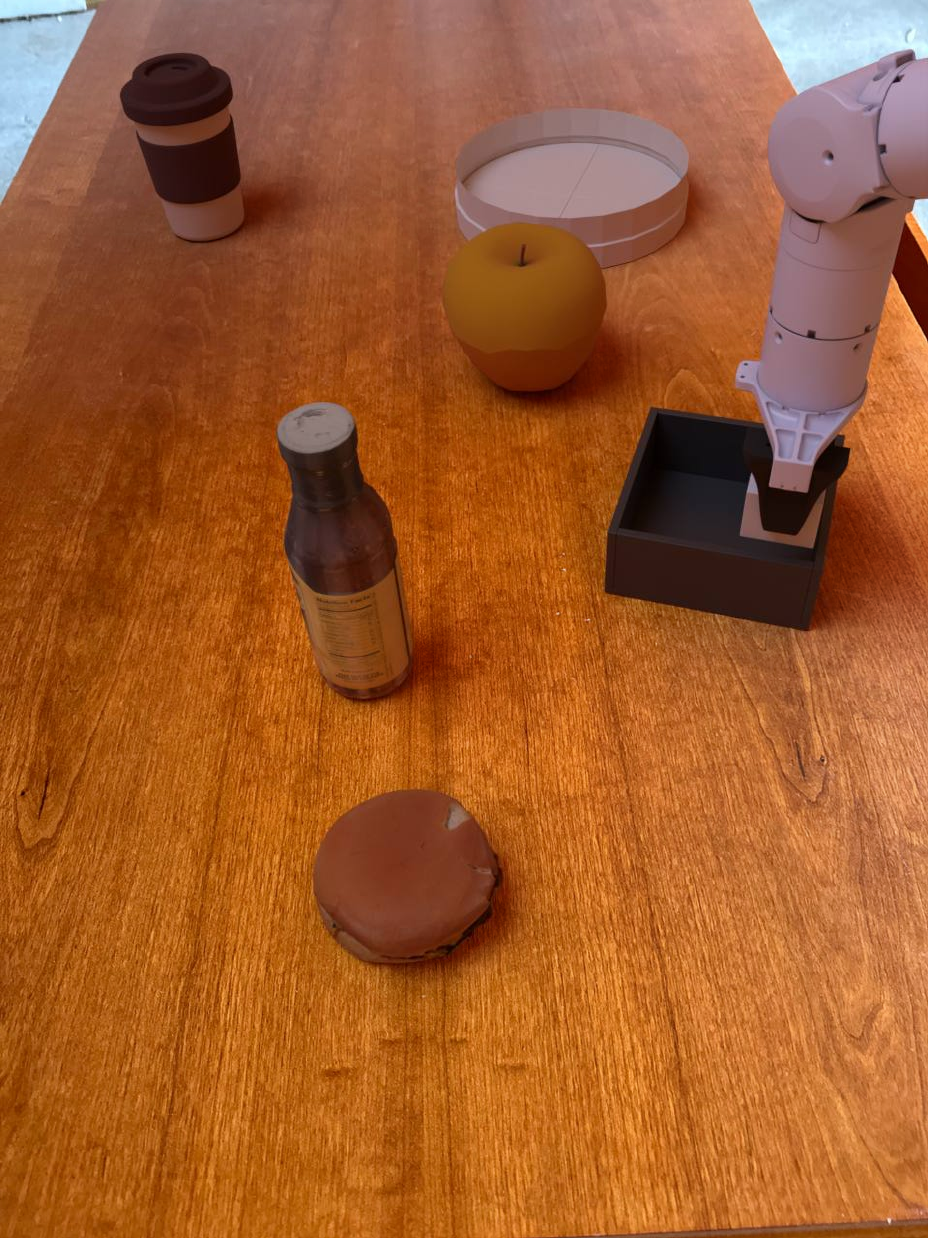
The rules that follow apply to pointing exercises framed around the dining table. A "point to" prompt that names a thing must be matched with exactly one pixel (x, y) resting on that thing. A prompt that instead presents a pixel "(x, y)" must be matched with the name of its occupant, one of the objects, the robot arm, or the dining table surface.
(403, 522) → the dining table surface
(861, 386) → the robot arm
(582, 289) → the apple
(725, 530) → the bin
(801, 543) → the cube
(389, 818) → the chocolate glazed sandwich cookie
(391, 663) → the sauce bottle
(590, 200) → the dish
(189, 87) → the coffee cup
